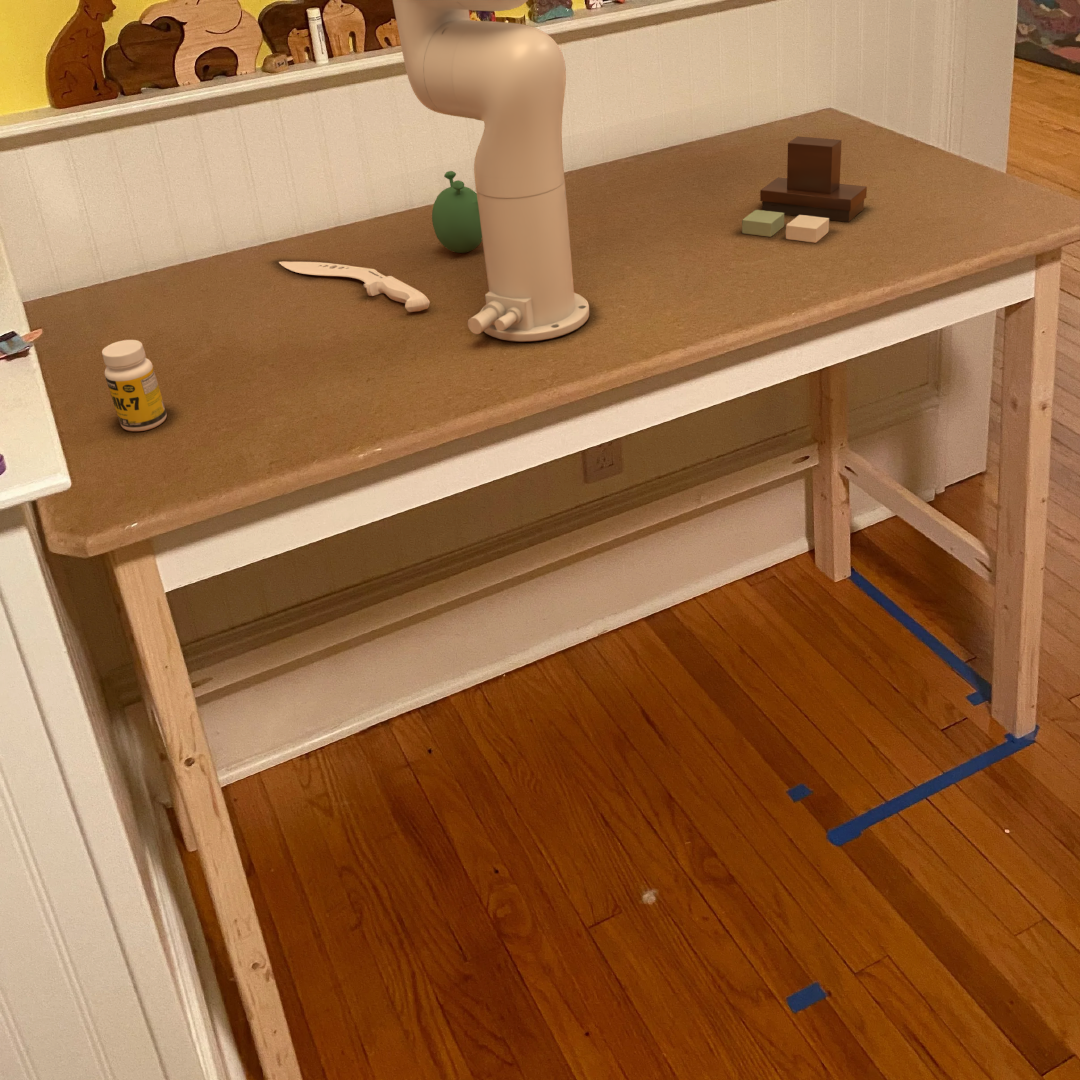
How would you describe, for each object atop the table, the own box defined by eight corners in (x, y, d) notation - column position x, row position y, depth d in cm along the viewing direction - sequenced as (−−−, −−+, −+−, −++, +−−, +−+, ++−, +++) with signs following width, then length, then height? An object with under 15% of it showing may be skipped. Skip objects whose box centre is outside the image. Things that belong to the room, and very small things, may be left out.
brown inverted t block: (849, 222, 154) (853, 151, 149) (759, 212, 161) (760, 143, 156) (865, 209, 158) (869, 139, 153) (777, 199, 164) (778, 131, 159)
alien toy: (501, 253, 157) (492, 176, 152) (444, 265, 156) (432, 187, 150) (487, 237, 163) (478, 162, 157) (431, 248, 161) (420, 172, 156)
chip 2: (815, 243, 150) (816, 228, 149) (785, 239, 152) (785, 225, 151) (828, 232, 153) (829, 218, 152) (799, 228, 155) (799, 214, 154)
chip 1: (770, 237, 153) (771, 223, 152) (741, 233, 155) (741, 219, 154) (784, 226, 156) (784, 212, 155) (755, 222, 158) (755, 209, 157)
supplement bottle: (111, 430, 125) (87, 356, 121) (139, 409, 129) (116, 336, 124) (150, 434, 124) (126, 359, 119) (176, 412, 127) (155, 339, 123)
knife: (275, 256, 162) (328, 240, 165) (278, 268, 163) (330, 251, 166) (372, 315, 139) (431, 294, 142) (374, 328, 140) (433, 308, 143)
